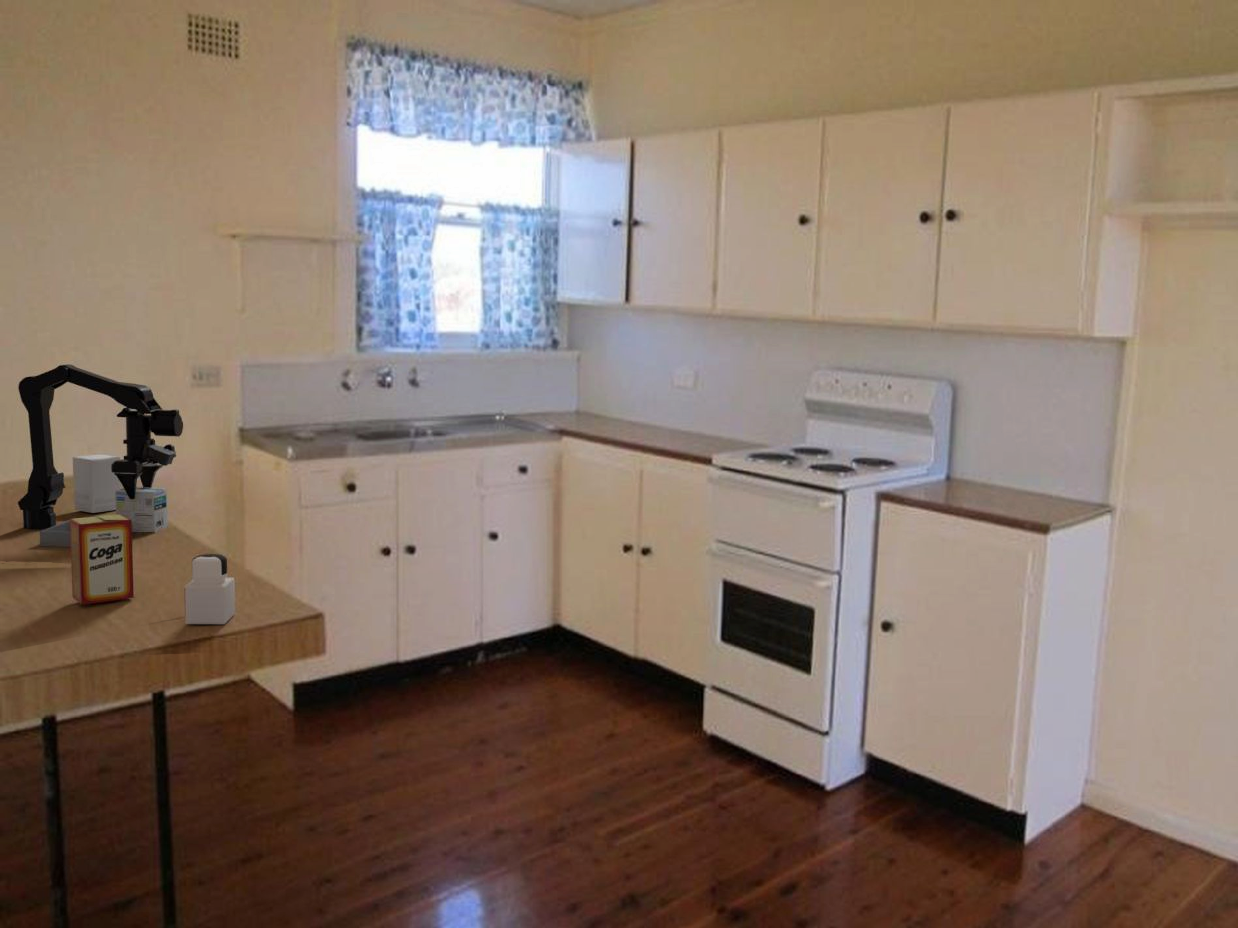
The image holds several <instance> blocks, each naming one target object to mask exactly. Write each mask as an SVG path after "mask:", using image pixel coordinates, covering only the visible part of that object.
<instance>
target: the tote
mask: <svg viewBox="0 0 1238 928" xmlns="http://www.w3.org/2000/svg"><path fill="white" fill-rule="evenodd" d="M131 522H132V536H134V532H133V521H131ZM39 546H40V547H55V548H56V547H59V548H63V547H64V548H65V547H66V548H71V541H70V519H69V520H66V521H64V522H61V523H59V524H56V525H55V526H53V527H50V528H47V529H41V531H39Z"/></svg>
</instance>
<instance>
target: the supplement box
mask: <svg viewBox="0 0 1238 928" xmlns="http://www.w3.org/2000/svg"><path fill="white" fill-rule="evenodd" d="M120 458H121V457H120V456H114V455H108V454H92V455H78V456H72V474H73V497H74V498H73V500H74V510H75V511H80V512H85V513H91V514H94V513H102V512H110V511H116V501H115V490H118V489H122V487H121V486H122V484H121V482H120V481H119V479H118V478H117V476H116V475H114V473H113V472H112V471H111V465H112V464H113V463H114V462H115V461H117V460H121V459H120Z"/></svg>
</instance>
